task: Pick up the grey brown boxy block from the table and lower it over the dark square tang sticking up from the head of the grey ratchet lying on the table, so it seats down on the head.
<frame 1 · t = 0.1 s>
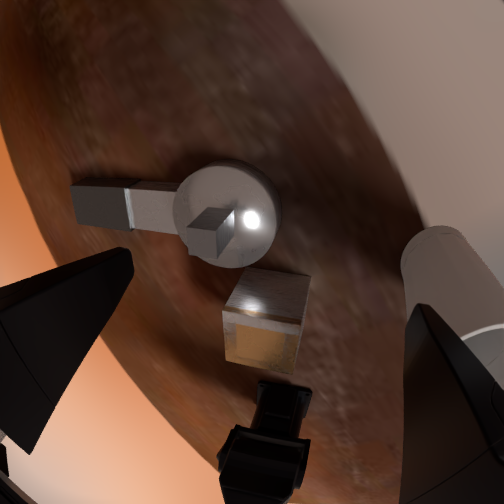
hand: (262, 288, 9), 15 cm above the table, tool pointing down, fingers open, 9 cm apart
ratchet: (232, 208, 24), on the table
cup: (435, 260, 22), on the table
grey brown boxy block: (276, 297, 27), on the table
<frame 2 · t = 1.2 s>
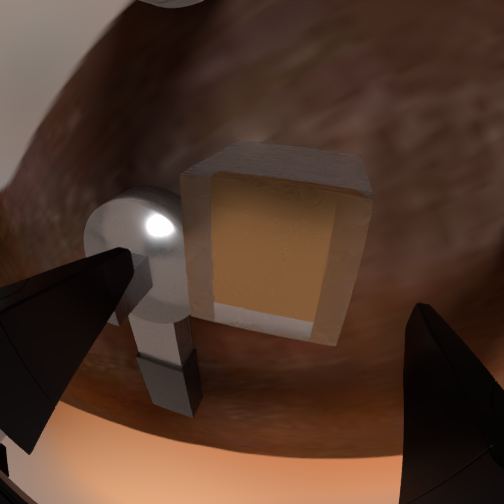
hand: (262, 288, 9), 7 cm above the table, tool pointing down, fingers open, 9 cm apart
ratchet: (157, 247, 18), on the table
grey brown boxy block: (294, 203, 15), on the table
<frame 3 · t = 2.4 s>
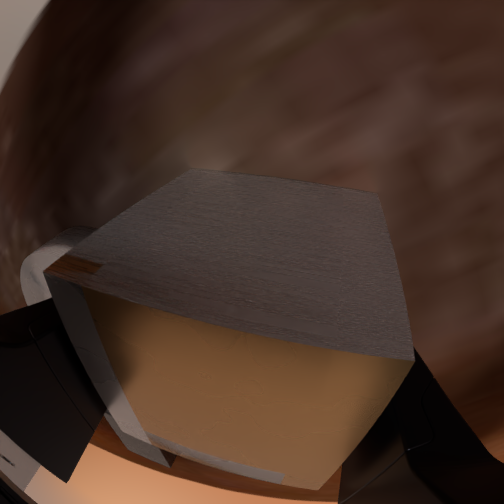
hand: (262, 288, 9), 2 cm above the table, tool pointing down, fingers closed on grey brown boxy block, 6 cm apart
ratchet: (107, 299, 14), on the table
grey brown boxy block: (273, 261, 10), on the table, touching gripper
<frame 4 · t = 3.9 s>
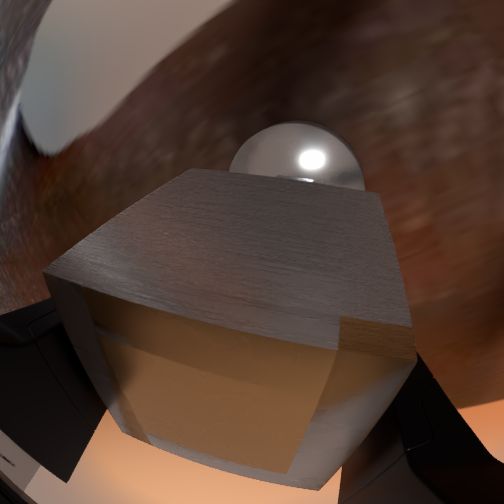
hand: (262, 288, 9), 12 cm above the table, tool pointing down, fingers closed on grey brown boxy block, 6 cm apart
ratchet: (300, 181, 19), on the table
grey brown boxy block: (274, 261, 10), point 10 cm above the table, touching gripper
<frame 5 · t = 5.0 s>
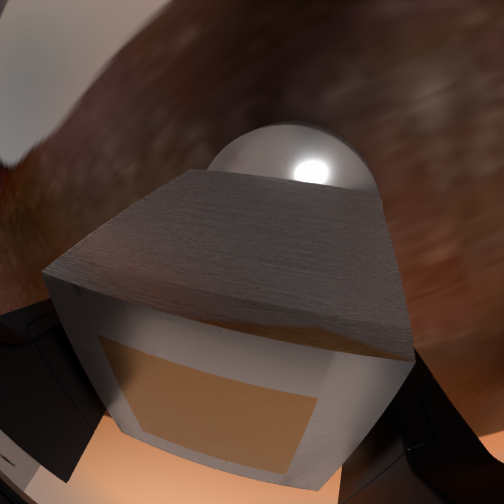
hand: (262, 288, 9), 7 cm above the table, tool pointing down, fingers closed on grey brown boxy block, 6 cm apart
ratchet: (295, 201, 15), on the table
grey brown boxy block: (273, 261, 10), point 6 cm above the table, touching gripper
when the fingers open (5 cm above the table, at t = 5.9 s): grey brown boxy block drops 1 cm, resting on ratchet.
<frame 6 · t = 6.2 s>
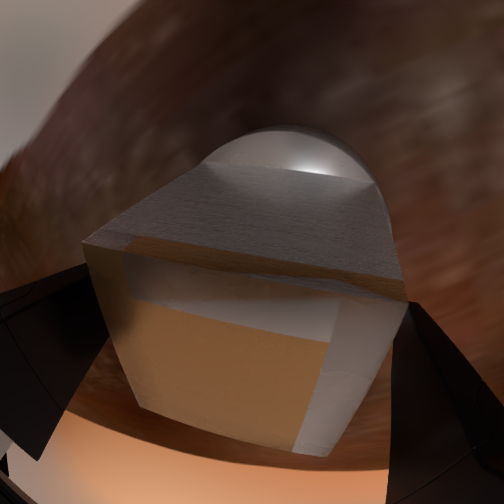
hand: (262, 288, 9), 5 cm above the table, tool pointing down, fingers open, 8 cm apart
ratchet: (290, 218, 13), on the table, touching grey brown boxy block
grey brown boxy block: (281, 246, 11), point 2 cm above the table, touching ratchet
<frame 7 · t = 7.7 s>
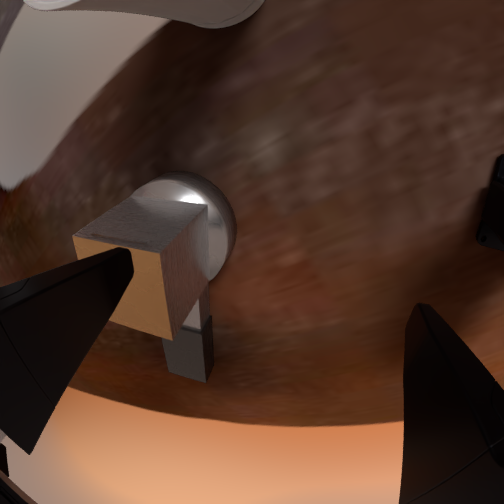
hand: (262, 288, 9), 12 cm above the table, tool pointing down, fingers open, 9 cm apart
ratchet: (185, 223, 22), on the table, touching grey brown boxy block
grey brown boxy block: (170, 238, 20), point 2 cm above the table, touching ratchet
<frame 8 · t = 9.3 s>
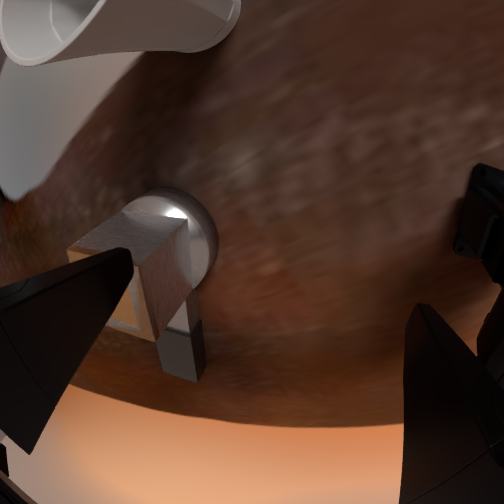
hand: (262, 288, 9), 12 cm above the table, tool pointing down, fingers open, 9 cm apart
ratchet: (172, 234, 24), on the table, touching grey brown boxy block
cup: (195, 11, 15), on the table
grey brown boxy block: (156, 249, 22), point 2 cm above the table, touching ratchet
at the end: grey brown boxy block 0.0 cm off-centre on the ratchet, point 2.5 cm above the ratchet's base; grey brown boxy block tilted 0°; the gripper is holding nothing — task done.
